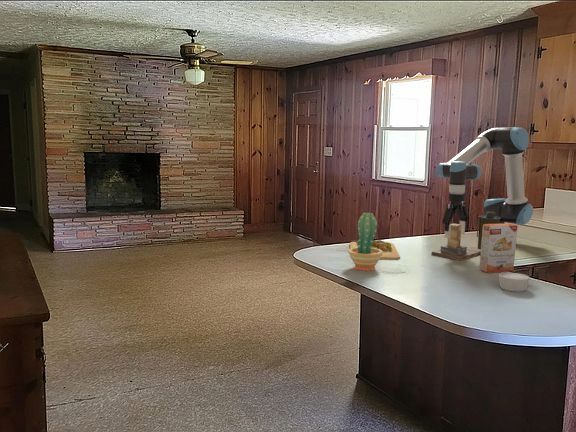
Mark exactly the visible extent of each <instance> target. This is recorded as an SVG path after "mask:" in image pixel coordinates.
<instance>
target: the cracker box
mask: <svg viewBox="0 0 576 432" xmlns="http://www.w3.org/2000/svg"><path fill="white" fill-rule="evenodd" d="M517 235H518V224H514V223H508V222H505V224H483V229H482V241H481V254H480V255H479V256H480V257H479V267H478V268H479V271H481V272H484V273H490V274H491V273H508V272H514V269H515V258H516V257H515V256H516V247H517Z"/></svg>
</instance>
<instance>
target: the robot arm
mask: <svg viewBox="0 0 576 432" xmlns="http://www.w3.org/2000/svg"><path fill="white" fill-rule="evenodd" d="M529 143H530V136H529V133H528V131H527V130H526V129H525V128H524V127H518V126H511V127H510V126H509V127H507V126H505V127H504V126H503V127H493V128H490V129H488V130H486V131H484V132H482V133H480V134H479V135H478V136H476V137H475V139H474V141H473V142H471V143H470V144H469V145H468V146H467V147H465V148H464V149H462V150H461V151H460V152H459V153H457V154H456V155H455V156H454V157H453V158H451V159H450V160H449V161H447V162H440V163H438V165H437V166H436V169H435V171H436V175H437V177H438V178H443V179H449V184H448V192H449V193H448V201H449V202H450V203H447V204H446V206H445V207H446V208H445V212H444V215H443V217H442V224H443V225H444V238H447V239H448V238H450V232H451V225H450V224H452V220H453V218H454V216H455V215H456V213H457V215H458V217H459V219H460V220H459V223H458V224H460V225H461V235H465V234H466V232H465V231H466V222H468V220H469V215H468V211H467V205H466V204H467V203H466V201H465V199H466V198H465V197H466V194H465V193H466V181H473V180H474V181H475V180H478V179H479V178H480V177H481V176H482V170H483V169H482V167H481V166H479V164H475V163H474V164H473V163H472V162H474V160H475V159H477V158H478V157H479V156H481V155H482V154H483V153H486V152H488V151H490V150H500V151H501V155H503V156H504V164H505V166H504V167H505V178H506V179H505V180H506V191H507V194H506V195H507V198H504V197H503V198H490V199H489V198H488V199H485V200H484V203H483V204H484V205H483V216H486V212H495V213H496V214H495V213H494V216H497V217H500V218H501V219H500V224H506V223H510V224H514V225H526V224H528V223H529V222H530V221H531V219H532V217H533V213H534V207H533V205H532V204H530V203H529V199H528V198H527V197H526V196H525V181H524V166H523V165H524V164H523V154H524V153H525V152H526V150H527V148H528V147H529ZM470 163H472V164H470Z"/></svg>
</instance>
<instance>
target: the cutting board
mask: <svg viewBox="0 0 576 432" xmlns="http://www.w3.org/2000/svg"><path fill="white" fill-rule="evenodd" d="M358 243H359V239H358V240H356V241H351V242H349V249H351V248H356V247H358ZM371 248H376V249H380V250H382V251H383V253H382V255H381V256H380V258H379V260H386V261H387V260H389V261H391V260H392V261H393V260H394V261H398V260H400V259H401V256H400V253H399V251H398V250H397V247H396V245H395V244H394V243H393V242H390V241H389V242H388V241H386V242H385V241H383V240H380V239H379V240H374V239H373V243H372V247H371Z"/></svg>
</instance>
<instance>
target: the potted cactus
mask: <svg viewBox="0 0 576 432" xmlns="http://www.w3.org/2000/svg"><path fill="white" fill-rule="evenodd" d="M377 226H378V221H377V219H376V216H375V215H374V214H373V212H371V213H370V212H363V213H362V214H361V215H360V217H359V219H358V221H357V232H358V240H359V243H358V247H356V248H351V249H350V248H349V249H348V250H347V251H348V255H350V257H351V261H352V263H354V269H356V270H359V271H367V272H368V271H374V270H375V269H376V265H377V264H378V263H379V261H380V259H379V258H380V256H381V255H382V253H383V251H382V250H380V249H376V248H371V247H372V243H373V240H374V238H375V237H376V234H377V228H378V227H377Z"/></svg>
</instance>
